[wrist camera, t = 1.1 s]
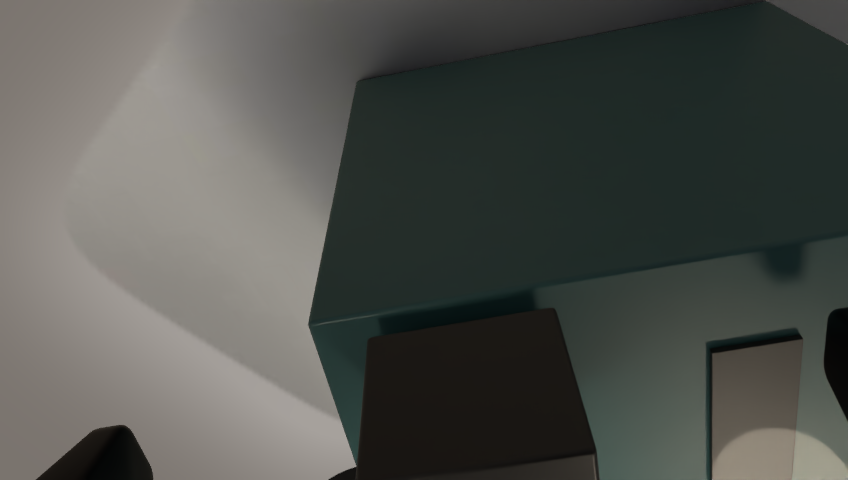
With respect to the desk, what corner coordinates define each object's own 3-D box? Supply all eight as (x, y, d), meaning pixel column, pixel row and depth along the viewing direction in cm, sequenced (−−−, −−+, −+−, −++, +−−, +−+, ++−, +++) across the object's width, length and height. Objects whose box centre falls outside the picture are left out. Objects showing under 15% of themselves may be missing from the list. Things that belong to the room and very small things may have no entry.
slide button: (569, 410, 10) (609, 567, 8) (395, 437, 10) (392, 597, 8) (554, 304, 9) (597, 450, 7) (366, 335, 9) (352, 487, 7)
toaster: (756, 277, 21) (993, 599, 13) (419, 333, 22) (424, 671, 14) (767, -1, 17) (1123, 190, 9) (355, 81, 18) (305, 328, 10)
